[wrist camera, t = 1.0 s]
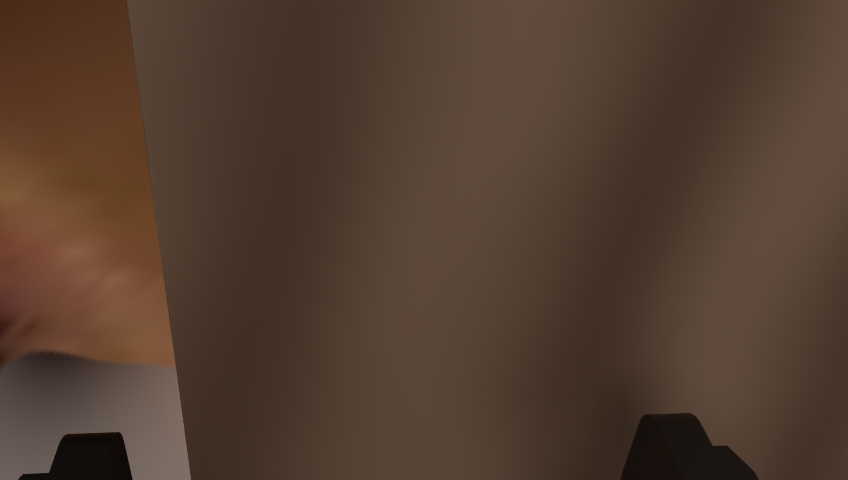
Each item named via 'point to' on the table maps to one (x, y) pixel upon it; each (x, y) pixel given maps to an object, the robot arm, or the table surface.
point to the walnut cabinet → (499, 232)
